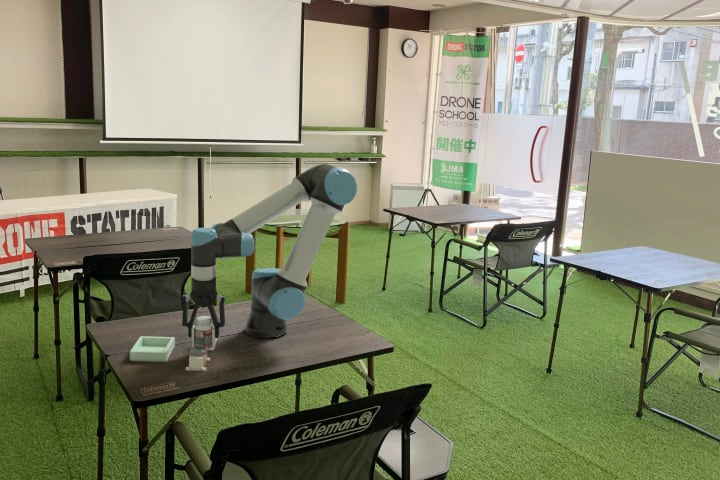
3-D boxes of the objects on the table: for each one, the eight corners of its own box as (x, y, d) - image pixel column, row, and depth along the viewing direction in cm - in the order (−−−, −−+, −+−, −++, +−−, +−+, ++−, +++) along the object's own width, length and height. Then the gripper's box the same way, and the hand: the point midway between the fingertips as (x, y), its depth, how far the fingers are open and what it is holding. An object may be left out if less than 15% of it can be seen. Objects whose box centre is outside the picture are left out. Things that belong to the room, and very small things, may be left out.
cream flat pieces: (217, 340, 214) (217, 329, 213) (205, 370, 191) (206, 358, 190) (199, 340, 214) (199, 329, 213) (185, 370, 190) (185, 358, 189)
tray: (174, 345, 208) (174, 337, 207) (166, 361, 195) (166, 352, 194) (140, 344, 207) (140, 336, 206) (129, 360, 194) (129, 351, 193)
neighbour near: (207, 361, 197) (208, 347, 196) (205, 368, 192) (205, 353, 191) (191, 361, 197) (191, 346, 196) (188, 368, 192) (188, 353, 191)
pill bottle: (208, 352, 199) (208, 322, 196) (191, 349, 200) (191, 320, 197) (215, 345, 204) (215, 316, 202) (199, 343, 205) (199, 314, 203)
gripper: (235, 274, 201) (234, 342, 206) (175, 273, 199) (176, 341, 205) (232, 281, 194) (231, 351, 199) (170, 279, 192) (171, 350, 197)
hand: (203, 346), depth 202 cm, fingers closed on pill bottle, 6 cm apart
